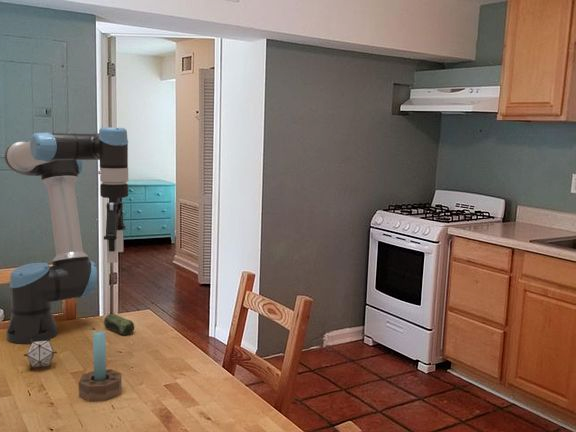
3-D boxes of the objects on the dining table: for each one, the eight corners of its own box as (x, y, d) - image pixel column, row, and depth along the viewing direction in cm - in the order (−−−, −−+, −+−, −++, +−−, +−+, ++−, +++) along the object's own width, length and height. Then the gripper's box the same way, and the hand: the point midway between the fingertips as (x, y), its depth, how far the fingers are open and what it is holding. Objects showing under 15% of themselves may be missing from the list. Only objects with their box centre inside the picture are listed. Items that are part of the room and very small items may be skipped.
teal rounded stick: (95, 390, 149) (93, 331, 147) (107, 389, 150) (105, 331, 147) (93, 395, 146) (92, 335, 144) (105, 394, 147) (104, 335, 145)
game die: (44, 381, 162) (41, 363, 155) (19, 368, 163) (14, 349, 156) (64, 357, 168) (62, 338, 161) (40, 344, 169) (37, 326, 162)
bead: (84, 384, 152) (83, 370, 152) (122, 382, 154) (122, 368, 153) (76, 402, 143) (76, 387, 142) (118, 399, 144) (117, 385, 144)
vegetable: (137, 334, 191) (137, 319, 190) (124, 338, 187) (124, 323, 186) (113, 324, 200) (113, 310, 199) (100, 327, 196) (100, 313, 195)
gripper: (106, 178, 171) (108, 248, 174) (92, 187, 146) (94, 267, 150) (132, 179, 172) (133, 247, 175) (123, 187, 148) (124, 267, 151)
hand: (115, 257), depth 162 cm, fingers open, 13 cm apart
